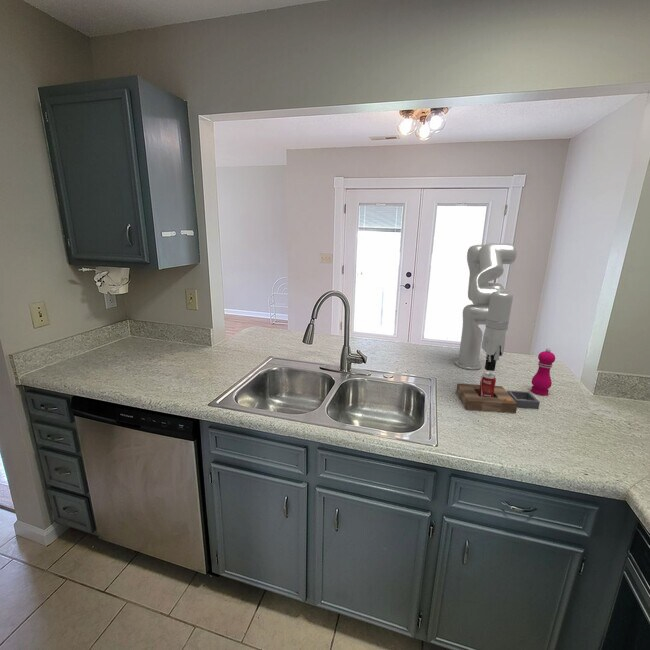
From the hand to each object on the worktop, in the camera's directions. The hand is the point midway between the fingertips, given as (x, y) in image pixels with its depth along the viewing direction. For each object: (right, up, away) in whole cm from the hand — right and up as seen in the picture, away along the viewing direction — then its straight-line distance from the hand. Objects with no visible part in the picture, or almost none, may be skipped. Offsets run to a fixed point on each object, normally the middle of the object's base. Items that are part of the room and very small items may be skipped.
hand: (489, 369), depth 132 cm
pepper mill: (+28, -12, +13) cm, 33 cm away
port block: (0, -14, +4) cm, 14 cm away
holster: (+15, -14, +4) cm, 21 cm away
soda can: (0, -14, +4) cm, 14 cm away
